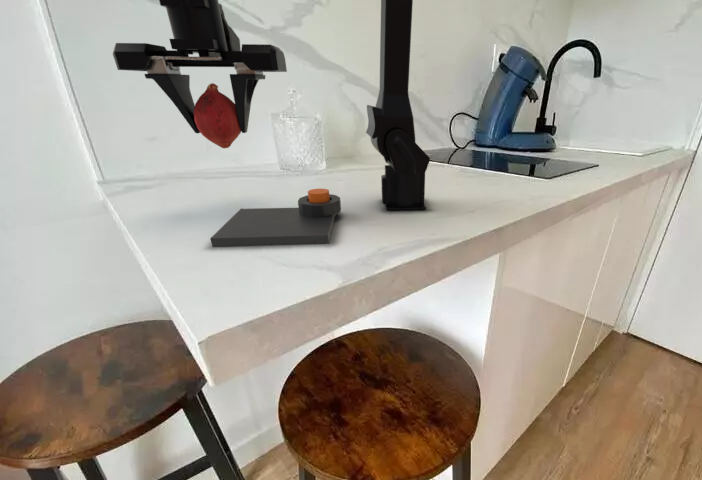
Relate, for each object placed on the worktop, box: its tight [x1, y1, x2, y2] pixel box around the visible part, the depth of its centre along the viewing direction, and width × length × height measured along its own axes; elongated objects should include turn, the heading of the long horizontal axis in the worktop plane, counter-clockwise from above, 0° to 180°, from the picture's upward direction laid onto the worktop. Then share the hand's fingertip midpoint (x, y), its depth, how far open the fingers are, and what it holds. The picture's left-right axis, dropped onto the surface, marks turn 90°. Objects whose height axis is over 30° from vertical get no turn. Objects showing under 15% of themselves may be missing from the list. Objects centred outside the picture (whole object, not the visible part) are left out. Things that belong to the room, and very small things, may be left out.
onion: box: [194, 82, 242, 149], centre depth 49 cm, size 6×6×8 cm
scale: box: [209, 193, 342, 248], centre depth 50 cm, size 15×13×3 cm
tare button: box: [307, 188, 330, 203], centre depth 53 cm, size 3×3×2 cm
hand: (221, 132), depth 50 cm, fingers closed on onion, 6 cm apart
